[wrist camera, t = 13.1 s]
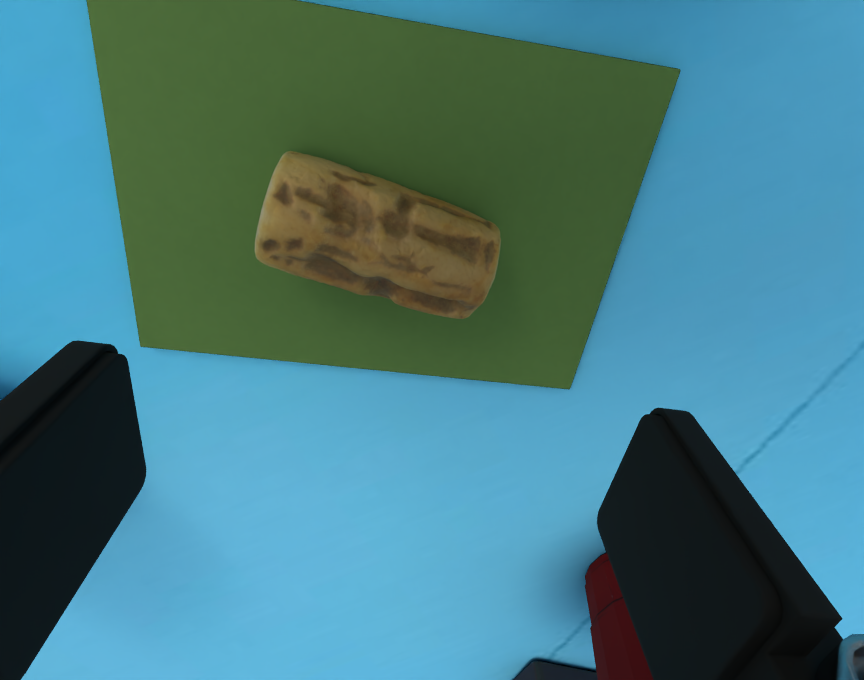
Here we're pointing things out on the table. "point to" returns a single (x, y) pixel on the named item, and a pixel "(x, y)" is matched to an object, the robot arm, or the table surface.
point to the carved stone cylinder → (375, 237)
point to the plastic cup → (612, 627)
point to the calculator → (554, 672)
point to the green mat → (374, 154)
